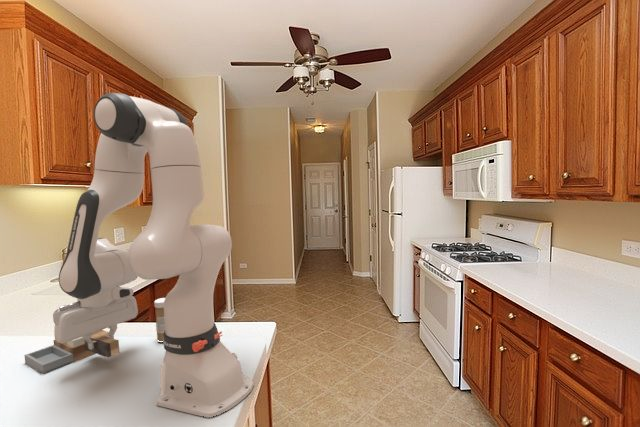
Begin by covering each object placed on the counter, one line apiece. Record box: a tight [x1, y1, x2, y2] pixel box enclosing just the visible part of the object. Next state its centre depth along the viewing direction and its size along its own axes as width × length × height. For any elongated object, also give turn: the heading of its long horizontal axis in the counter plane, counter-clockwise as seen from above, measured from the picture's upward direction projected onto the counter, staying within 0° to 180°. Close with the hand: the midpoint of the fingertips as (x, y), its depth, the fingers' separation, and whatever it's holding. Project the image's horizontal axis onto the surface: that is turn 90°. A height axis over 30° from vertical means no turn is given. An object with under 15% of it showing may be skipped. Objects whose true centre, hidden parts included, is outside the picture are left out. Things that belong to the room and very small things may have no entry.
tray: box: [24, 344, 75, 375], centre depth 94 cm, size 12×7×2 cm, turn 59°
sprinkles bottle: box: [153, 297, 166, 341], centre depth 106 cm, size 5×5×13 cm
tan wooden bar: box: [85, 334, 120, 358], centre depth 93 cm, size 12×3×4 cm, turn 60°
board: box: [53, 329, 109, 363], centre depth 102 cm, size 12×11×4 cm
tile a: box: [67, 337, 85, 347], centre depth 97 cm, size 4×4×2 cm
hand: (101, 344), depth 93 cm, fingers closed on tan wooden bar, 3 cm apart
